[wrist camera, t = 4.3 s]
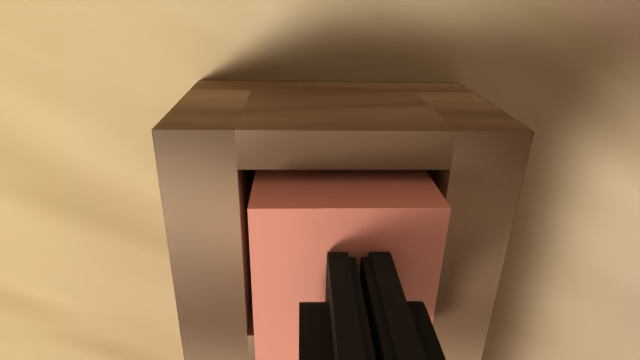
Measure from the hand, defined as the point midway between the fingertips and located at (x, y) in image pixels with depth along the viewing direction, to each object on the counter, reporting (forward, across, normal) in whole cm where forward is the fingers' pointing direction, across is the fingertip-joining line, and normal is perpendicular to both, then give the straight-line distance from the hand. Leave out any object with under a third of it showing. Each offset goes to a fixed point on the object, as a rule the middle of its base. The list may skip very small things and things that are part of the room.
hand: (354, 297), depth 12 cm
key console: (+8, 0, +9) cm, 12 cm away
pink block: (+4, 0, 0) cm, 4 cm away
